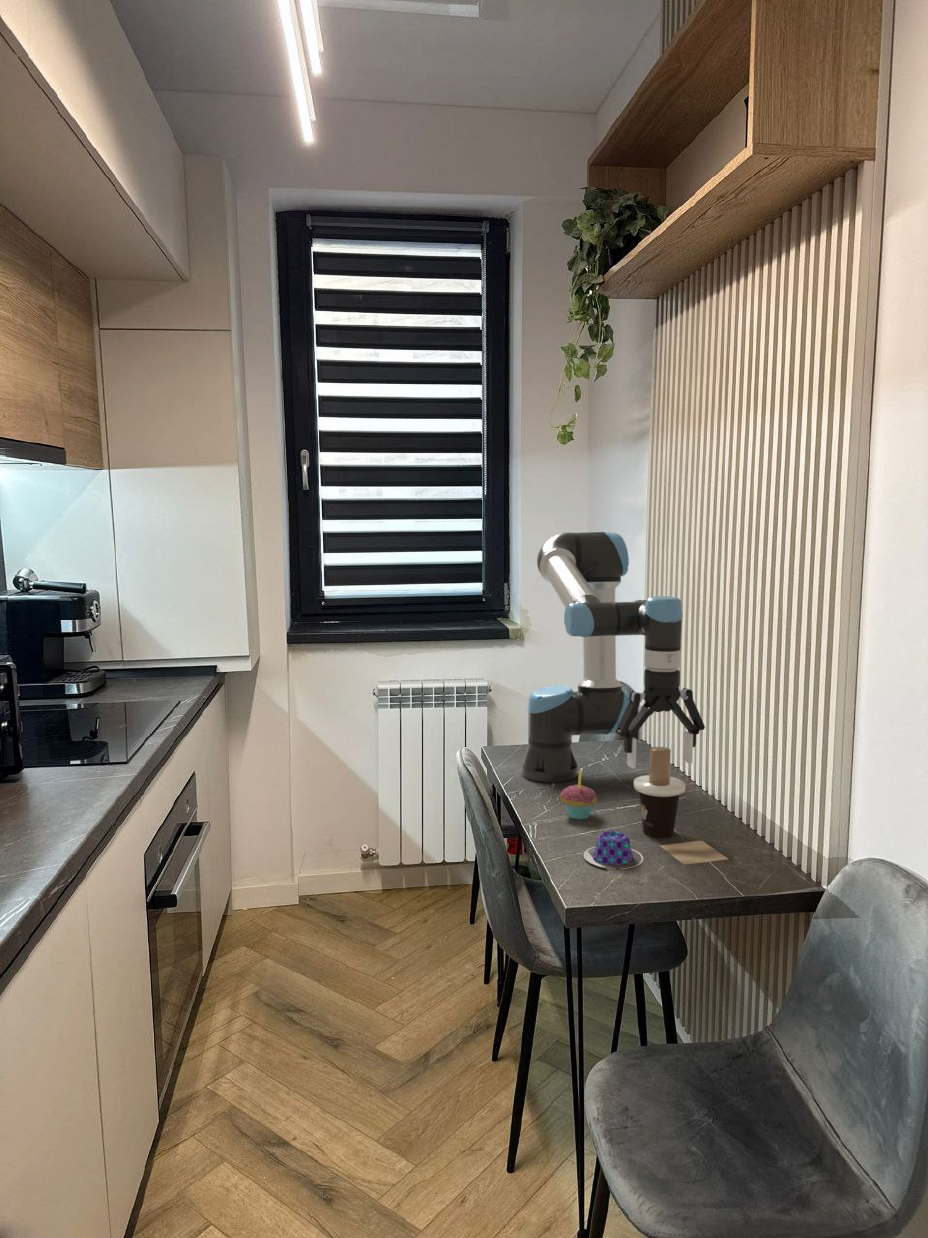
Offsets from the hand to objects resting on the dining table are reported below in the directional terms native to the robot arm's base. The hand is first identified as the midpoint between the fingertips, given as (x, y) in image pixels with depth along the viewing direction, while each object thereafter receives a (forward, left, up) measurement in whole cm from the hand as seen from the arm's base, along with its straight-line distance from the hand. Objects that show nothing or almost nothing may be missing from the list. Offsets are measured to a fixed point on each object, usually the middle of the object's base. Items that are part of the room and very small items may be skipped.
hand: (659, 764), depth 184 cm
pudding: (+10, -16, -16) cm, 25 cm away
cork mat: (+13, +1, -15) cm, 20 cm away
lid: (0, 0, -5) cm, 5 cm away
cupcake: (-14, -13, -16) cm, 25 cm away
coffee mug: (0, 0, -16) cm, 16 cm away
